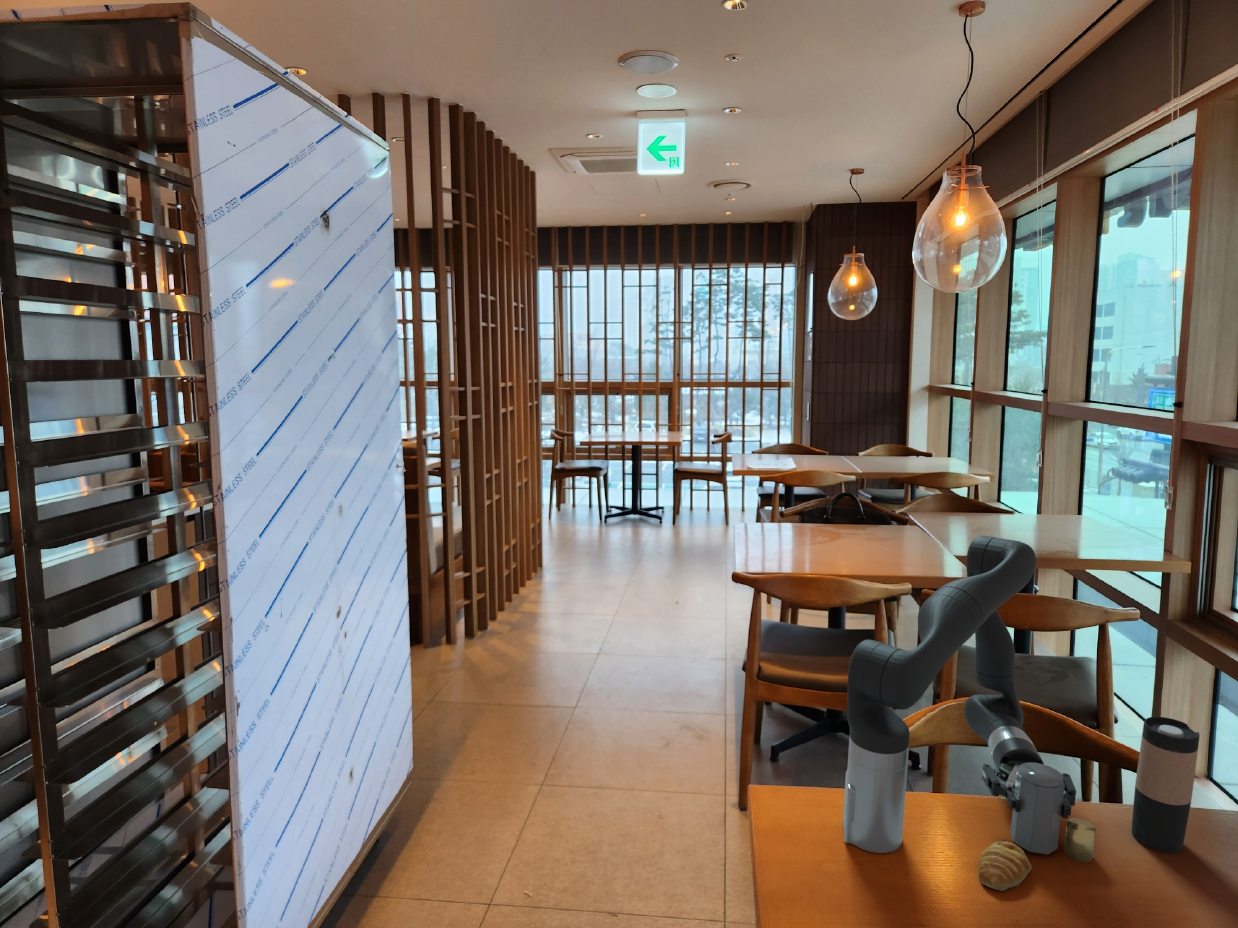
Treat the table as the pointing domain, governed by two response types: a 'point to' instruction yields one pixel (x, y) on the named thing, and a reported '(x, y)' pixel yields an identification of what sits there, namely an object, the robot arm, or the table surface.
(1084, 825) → the gold cylinder
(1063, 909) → the table surface
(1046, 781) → the canister
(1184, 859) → the table surface
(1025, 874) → the pastry
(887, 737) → the robot arm
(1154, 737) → the travel mug
